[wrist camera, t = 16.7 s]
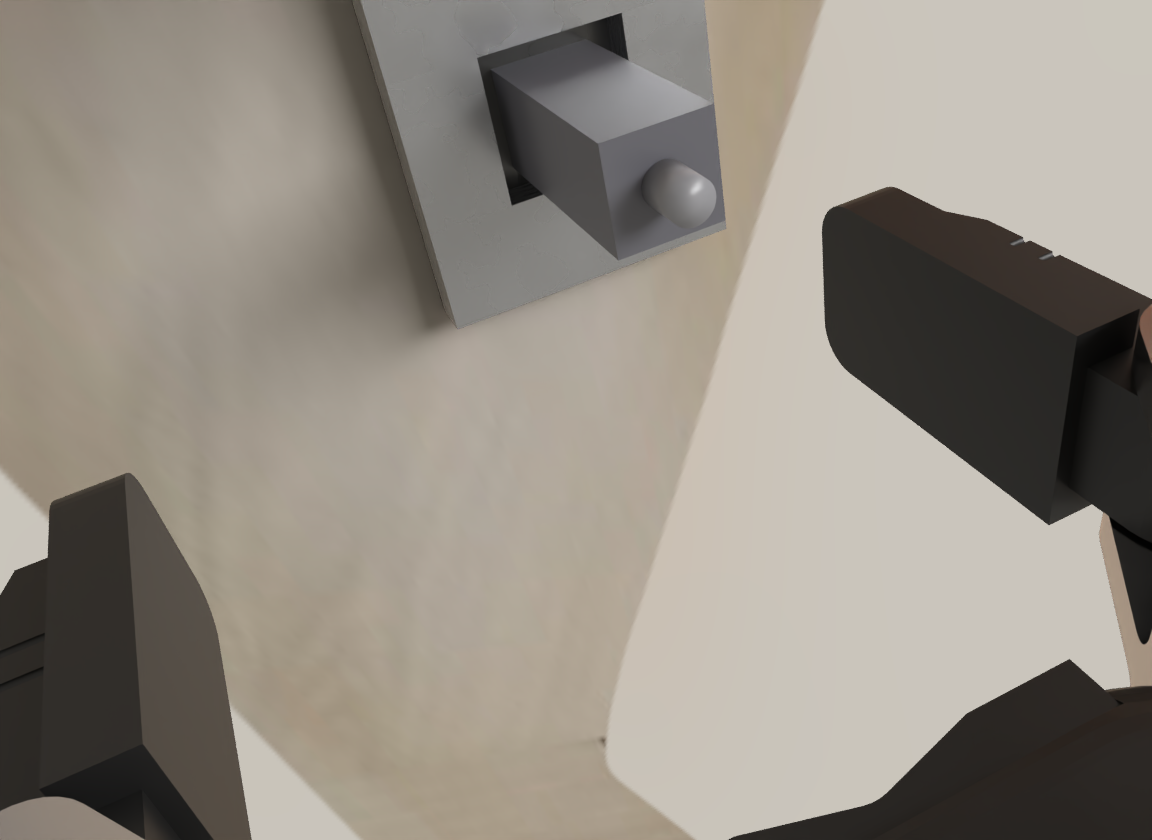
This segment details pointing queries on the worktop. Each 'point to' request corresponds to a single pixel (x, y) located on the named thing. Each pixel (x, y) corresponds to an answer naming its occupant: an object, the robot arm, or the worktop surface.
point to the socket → (477, 136)
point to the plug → (612, 145)
